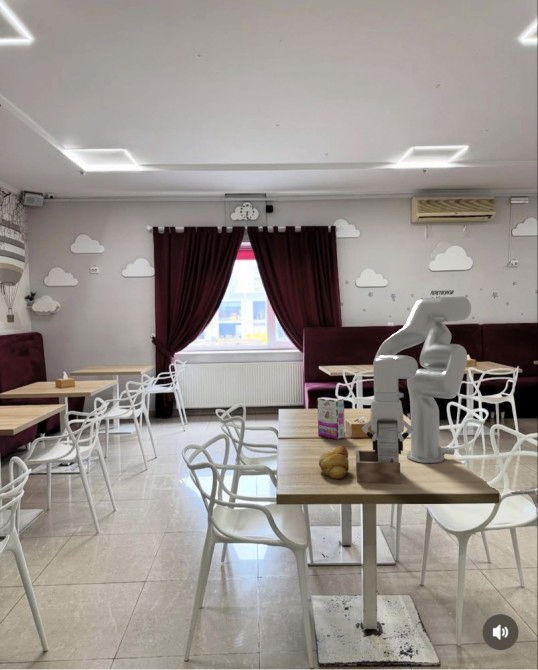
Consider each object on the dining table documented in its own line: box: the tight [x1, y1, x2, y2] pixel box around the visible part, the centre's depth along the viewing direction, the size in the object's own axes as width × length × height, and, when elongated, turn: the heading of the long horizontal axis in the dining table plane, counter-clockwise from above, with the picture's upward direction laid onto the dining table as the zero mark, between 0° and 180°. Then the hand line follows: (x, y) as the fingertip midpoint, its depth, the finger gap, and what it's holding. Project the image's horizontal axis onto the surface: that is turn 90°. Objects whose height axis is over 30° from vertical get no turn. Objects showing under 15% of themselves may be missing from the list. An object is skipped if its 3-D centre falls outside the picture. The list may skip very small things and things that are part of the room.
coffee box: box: [376, 420, 400, 463], centre depth 141 cm, size 9×6×16 cm
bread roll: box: [318, 445, 350, 479], centre depth 144 cm, size 13×10×8 cm
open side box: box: [355, 449, 401, 484], centre depth 141 cm, size 13×13×6 cm
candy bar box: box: [317, 396, 346, 440], centre depth 190 cm, size 11×5×16 cm, turn 42°
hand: (387, 452), depth 141 cm, fingers closed on coffee box, 6 cm apart
